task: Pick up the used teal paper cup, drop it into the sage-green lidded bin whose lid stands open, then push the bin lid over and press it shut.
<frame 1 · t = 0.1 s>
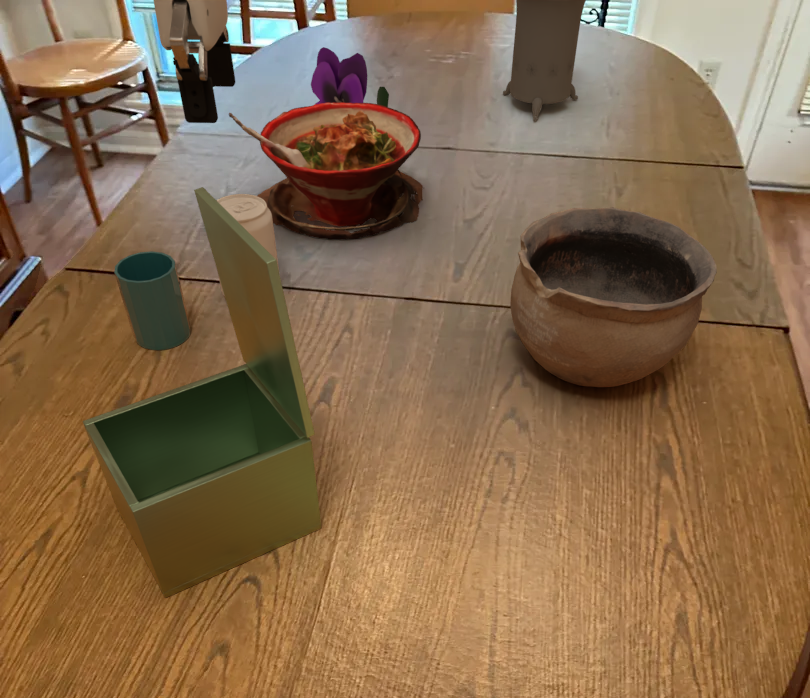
hand: (211, 102, 82), 27 cm above the table, tool pointing down, fingers open, 9 cm apart
beverage can: (252, 293, 108), on the table
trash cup: (162, 334, 101), on the table
ceramic bowl: (590, 363, 98), on the table
flower: (354, 136, 143), on the table
grey footed vase: (538, 104, 153), on the table
stew: (336, 213, 123), on the table
bin: (218, 518, 80), on the table
bin lid: (257, 317, 67), point 21 cm above the table, hinge at 85.0°
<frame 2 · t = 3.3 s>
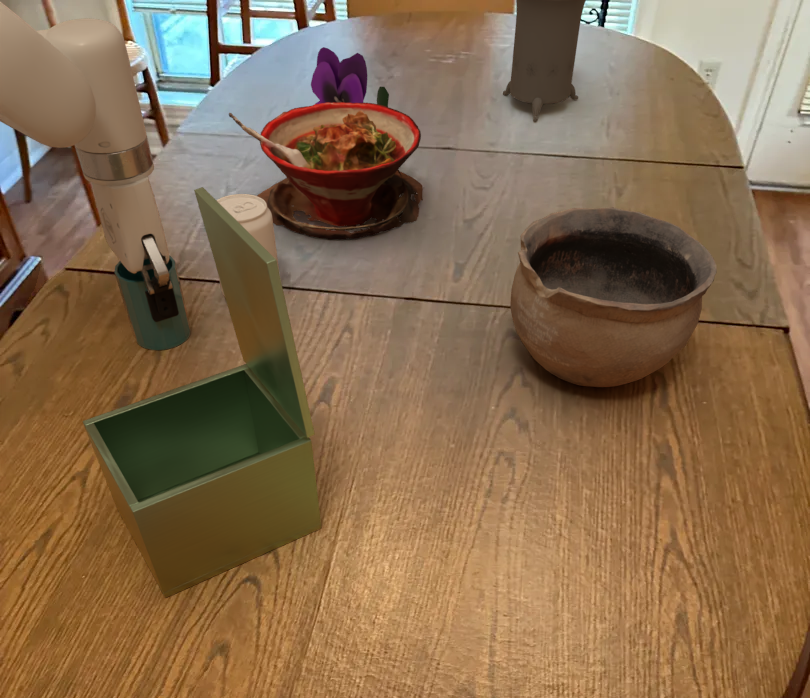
hand: (154, 301, 98), 5 cm above the table, tool pointing down, fingers closed on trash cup, 7 cm apart
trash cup: (163, 334, 101), on the table, touching gripper
everything else where it was.
when the fingers open (15 cm above the table, at t = 10.3 s): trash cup drops 9 cm, resting on bin.
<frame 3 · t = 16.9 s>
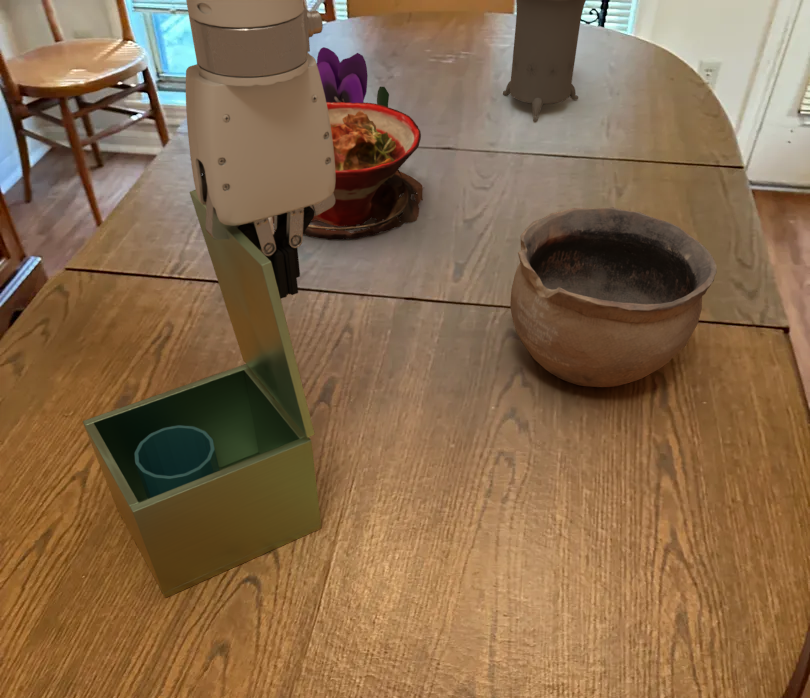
hand: (281, 288, 66), 23 cm above the table, tool pointing down, fingers closed
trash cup: (195, 521, 79), point 1 cm above the table, touching bin
bin lid: (255, 318, 67), point 21 cm above the table, hinge at 83.6°, touching gripper
everything else where it was.
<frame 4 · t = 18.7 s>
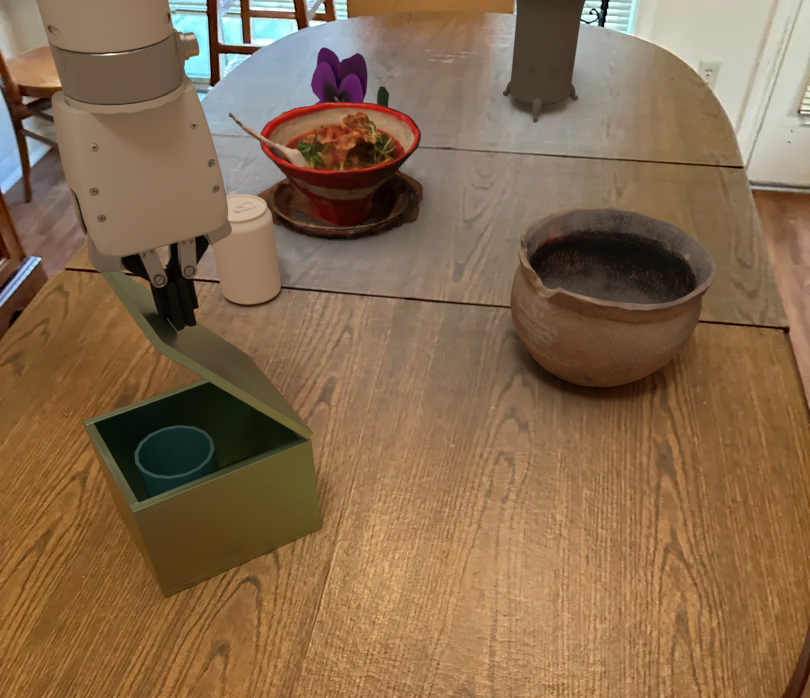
hand: (180, 319, 63), 23 cm above the table, tool pointing down, fingers closed
bin lid: (210, 353, 67), point 19 cm above the table, hinge at 51.2°, touching gripper
everything else where it was.
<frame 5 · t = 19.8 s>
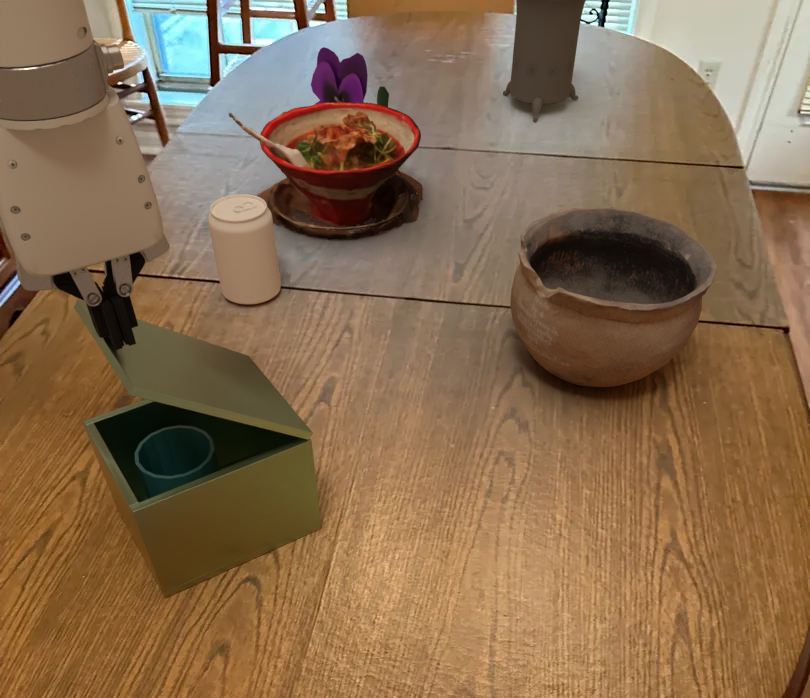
hand: (120, 338, 61), 23 cm above the table, tool pointing down, fingers closed
bin lid: (198, 372, 67), point 18 cm above the table, hinge at 38.2°, touching gripper
everything else where it was.
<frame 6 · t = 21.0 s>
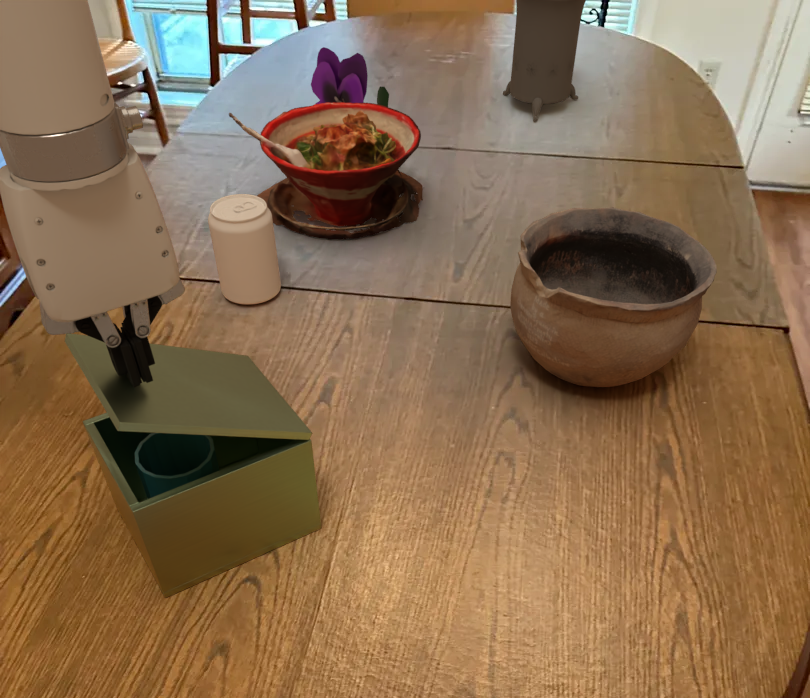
hand: (137, 375, 64), 19 cm above the table, tool pointing down, fingers closed
bin lid: (191, 388, 68), point 16 cm above the table, hinge at 27.8°, touching gripper
everything else where it was.
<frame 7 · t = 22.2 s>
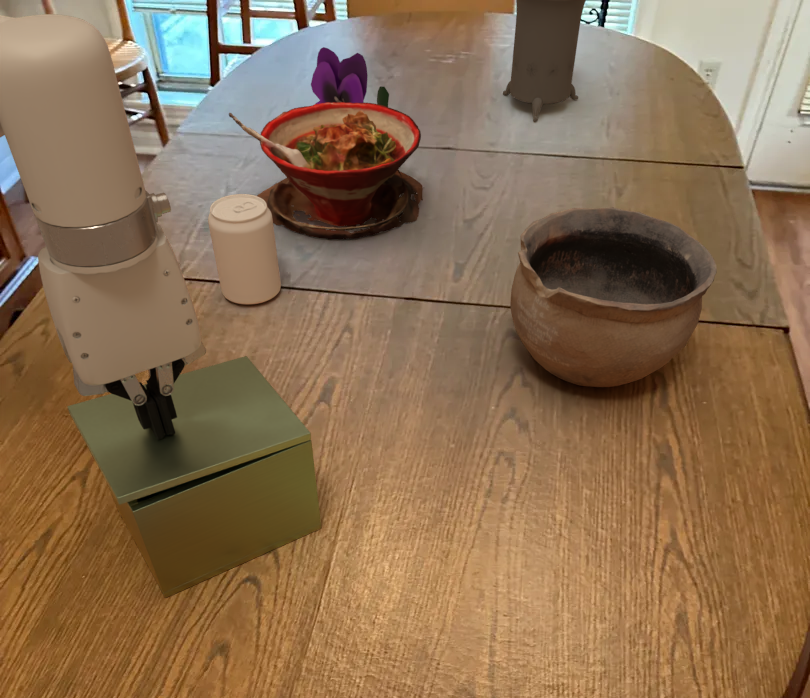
hand: (160, 427, 69), 14 cm above the table, tool pointing down, fingers closed
bin lid: (189, 422, 70), point 13 cm above the table, hinge at 3.9°, touching gripper
everything else where it was.
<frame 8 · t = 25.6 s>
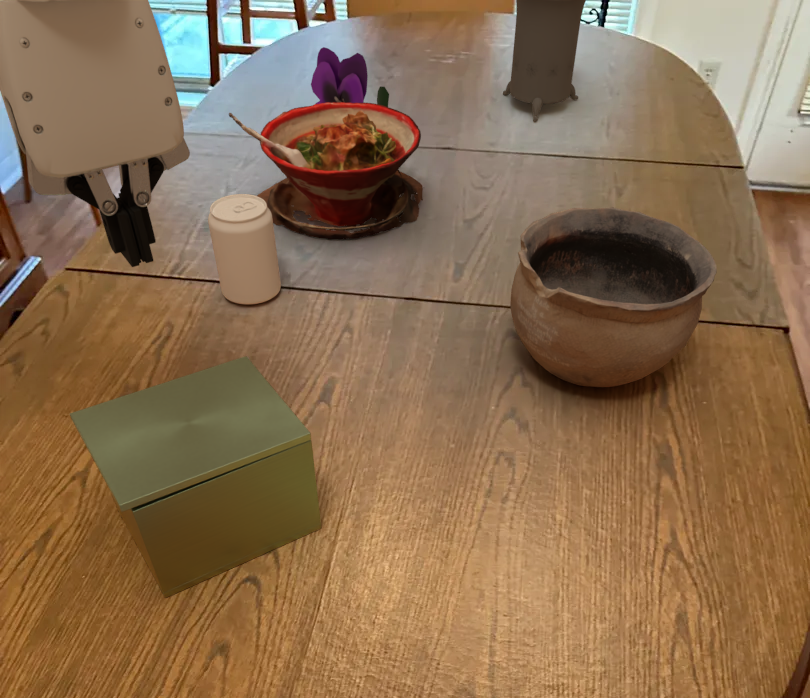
hand: (136, 255, 58), 29 cm above the table, tool pointing down, fingers closed
bin lid: (189, 426, 71), point 12 cm above the table, hinge at 1.2°
everything else where it was.
at the end: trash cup inside the target area in the bin (2.3 cm from its centre), point 0.8 cm above the bin's base; bin lid at +1° (first picture: +85°) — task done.
